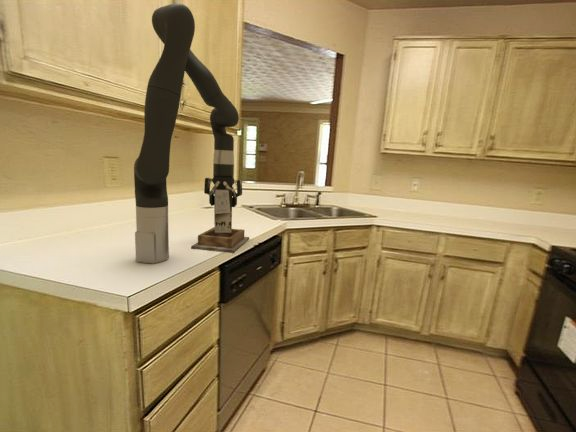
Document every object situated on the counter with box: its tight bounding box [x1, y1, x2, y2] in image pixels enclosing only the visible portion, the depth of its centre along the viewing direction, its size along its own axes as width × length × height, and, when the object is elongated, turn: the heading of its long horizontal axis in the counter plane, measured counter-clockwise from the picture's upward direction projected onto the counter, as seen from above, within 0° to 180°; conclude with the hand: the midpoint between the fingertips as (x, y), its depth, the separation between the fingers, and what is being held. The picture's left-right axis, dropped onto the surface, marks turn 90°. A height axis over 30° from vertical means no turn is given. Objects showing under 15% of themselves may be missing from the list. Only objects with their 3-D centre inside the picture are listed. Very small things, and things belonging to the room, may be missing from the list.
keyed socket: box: [190, 226, 250, 254], centre depth 119 cm, size 16×20×4 cm
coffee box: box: [213, 188, 233, 233], centre depth 117 cm, size 9×6×16 cm
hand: (223, 206), depth 117 cm, fingers closed on coffee box, 8 cm apart
